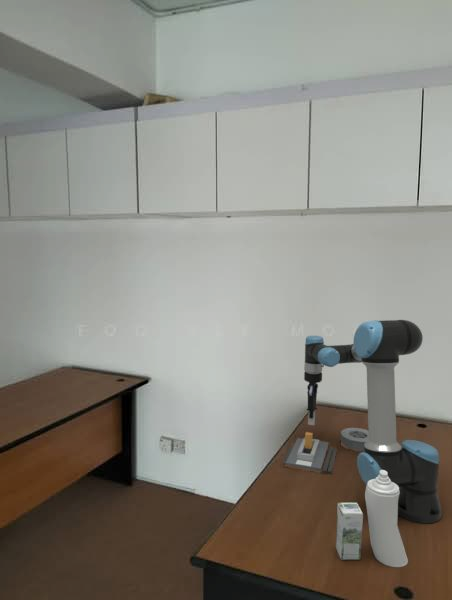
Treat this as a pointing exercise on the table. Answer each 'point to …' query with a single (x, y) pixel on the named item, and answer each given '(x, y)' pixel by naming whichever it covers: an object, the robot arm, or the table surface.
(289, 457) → the breaker panel
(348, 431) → the tape roll
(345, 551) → the syrup box
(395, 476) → the robot arm
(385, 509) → the spray can
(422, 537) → the table surface
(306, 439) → the breaker toggle
